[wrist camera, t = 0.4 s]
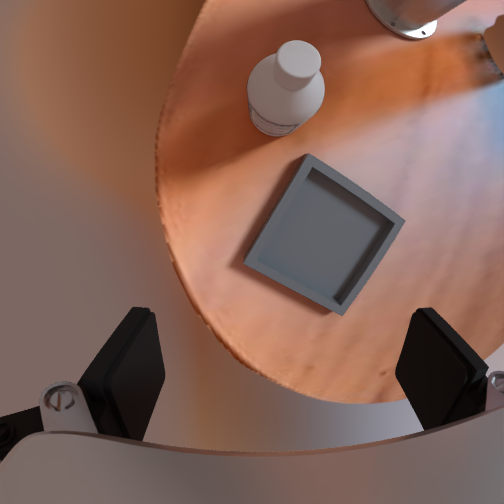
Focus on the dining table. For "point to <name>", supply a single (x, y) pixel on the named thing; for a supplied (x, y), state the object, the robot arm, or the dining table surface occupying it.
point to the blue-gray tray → (323, 236)
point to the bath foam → (285, 88)
